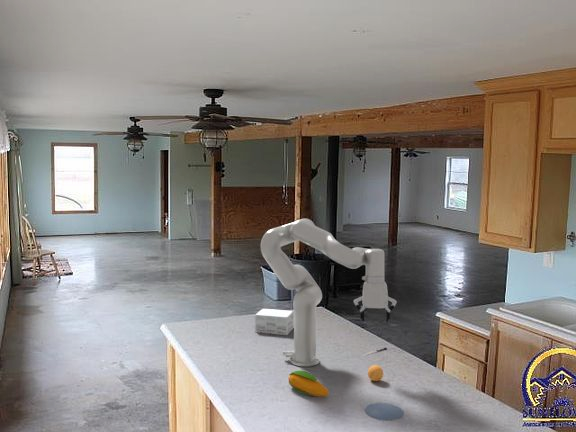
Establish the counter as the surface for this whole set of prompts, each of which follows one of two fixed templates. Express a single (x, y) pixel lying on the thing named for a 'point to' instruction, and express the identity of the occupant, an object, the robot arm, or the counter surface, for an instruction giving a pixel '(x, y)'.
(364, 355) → the chef's knife
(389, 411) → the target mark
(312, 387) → the corn
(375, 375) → the ball
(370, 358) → the counter surface
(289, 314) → the supplement box
